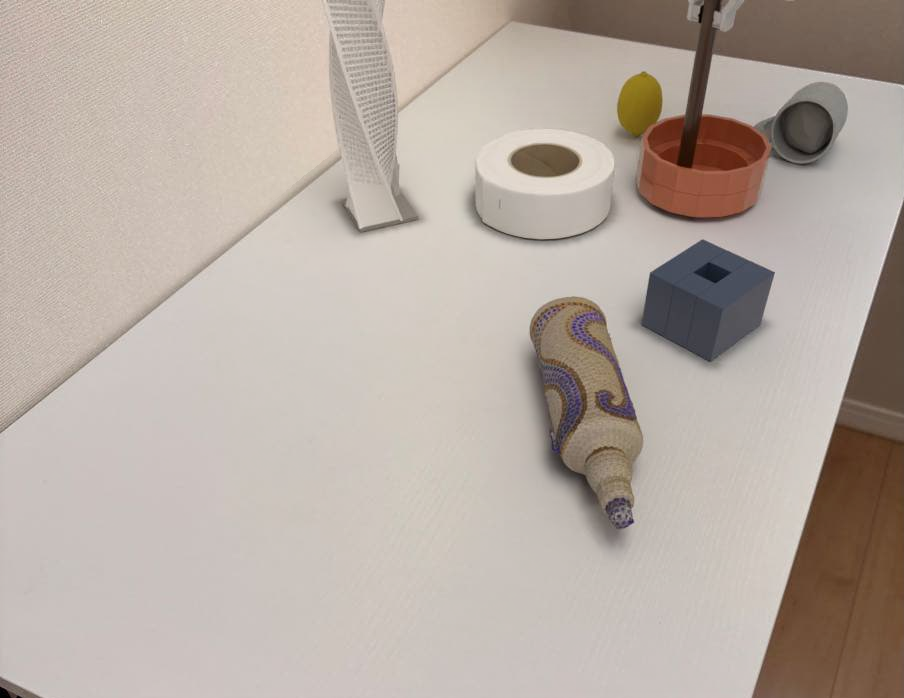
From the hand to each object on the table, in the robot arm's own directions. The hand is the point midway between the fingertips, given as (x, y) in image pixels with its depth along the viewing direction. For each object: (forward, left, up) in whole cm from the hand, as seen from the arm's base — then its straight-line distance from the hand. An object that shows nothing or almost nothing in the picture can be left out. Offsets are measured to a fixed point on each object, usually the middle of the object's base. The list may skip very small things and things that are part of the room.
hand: (709, 24), depth 97 cm
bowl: (-1, -2, -18) cm, 19 cm away
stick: (0, 0, -16) cm, 16 cm away
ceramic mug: (-3, -19, -19) cm, 26 cm away
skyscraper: (+22, +28, -19) cm, 40 cm away
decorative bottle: (-19, +41, -19) cm, 49 cm away
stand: (-17, +19, -18) cm, 32 cm away
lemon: (+13, -8, -19) cm, 24 cm away
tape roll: (+10, +13, -19) cm, 25 cm away
